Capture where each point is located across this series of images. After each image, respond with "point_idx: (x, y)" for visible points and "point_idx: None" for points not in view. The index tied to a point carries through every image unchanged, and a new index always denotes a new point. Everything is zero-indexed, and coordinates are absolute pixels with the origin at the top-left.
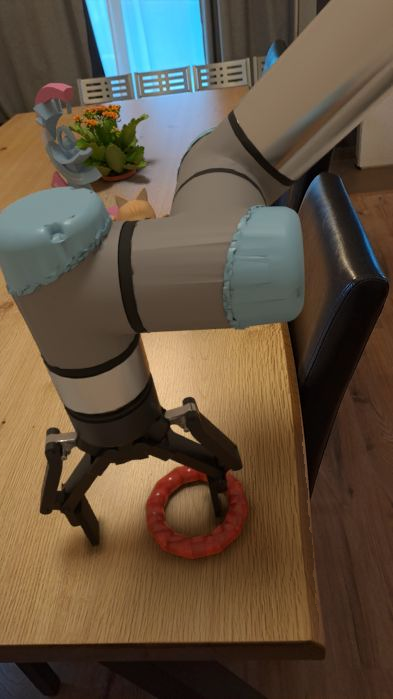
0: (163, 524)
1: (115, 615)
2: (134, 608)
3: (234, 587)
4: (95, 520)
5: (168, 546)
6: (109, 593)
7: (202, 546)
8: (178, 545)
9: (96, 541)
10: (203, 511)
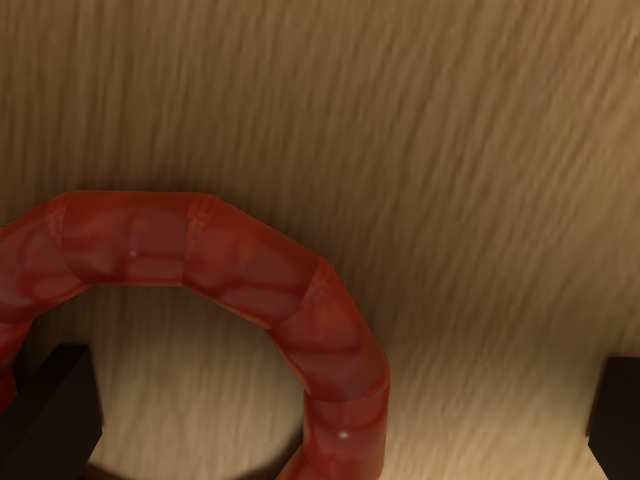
0: (309, 378)
1: (609, 29)
2: (514, 40)
3: (26, 17)
4: (617, 466)
5: (301, 273)
6: (612, 140)
7: (127, 230)
8: (248, 264)
9: (628, 376)
10: (143, 383)
